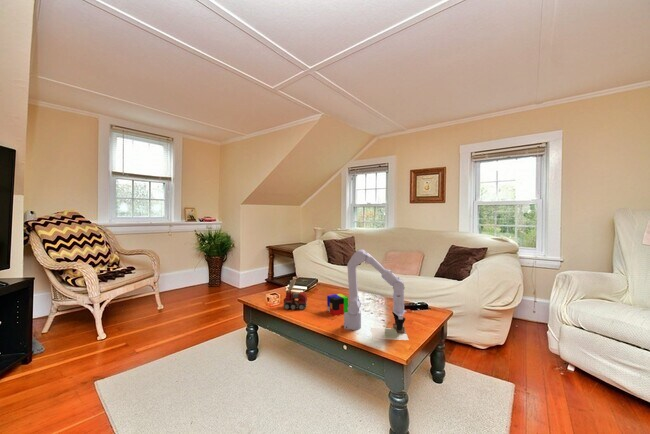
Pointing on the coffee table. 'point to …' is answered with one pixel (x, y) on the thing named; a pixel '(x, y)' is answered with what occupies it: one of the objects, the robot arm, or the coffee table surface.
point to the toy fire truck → (290, 298)
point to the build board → (380, 334)
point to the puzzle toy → (337, 304)
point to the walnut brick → (399, 330)
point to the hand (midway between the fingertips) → (398, 327)
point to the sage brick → (390, 333)
